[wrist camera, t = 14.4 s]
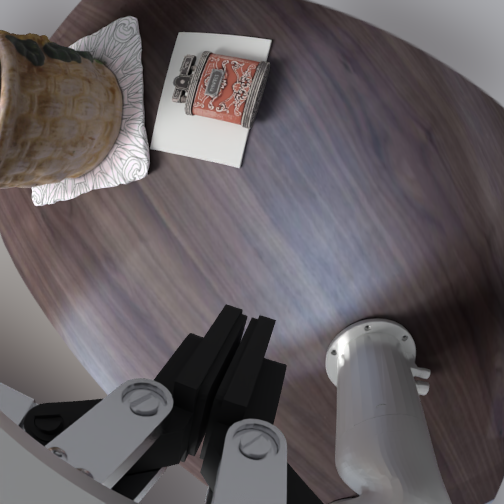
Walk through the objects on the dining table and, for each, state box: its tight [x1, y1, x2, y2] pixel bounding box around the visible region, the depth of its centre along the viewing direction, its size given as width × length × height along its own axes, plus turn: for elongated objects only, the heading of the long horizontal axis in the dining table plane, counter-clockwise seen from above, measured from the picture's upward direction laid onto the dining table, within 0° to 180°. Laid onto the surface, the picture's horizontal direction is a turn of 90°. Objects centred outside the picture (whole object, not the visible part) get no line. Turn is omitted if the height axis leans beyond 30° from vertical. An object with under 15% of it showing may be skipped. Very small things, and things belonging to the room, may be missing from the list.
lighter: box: [172, 51, 270, 129], centre depth 31 cm, size 8×3×10 cm
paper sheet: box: [150, 32, 272, 168], centre depth 33 cm, size 12×16×1 cm
